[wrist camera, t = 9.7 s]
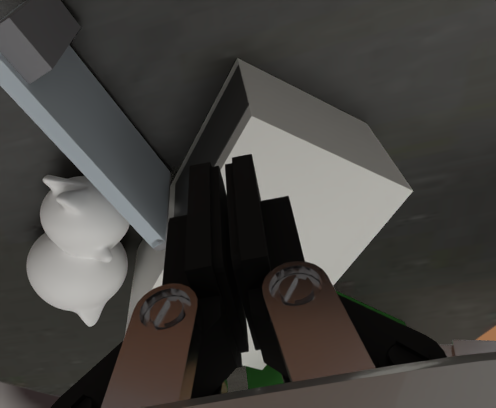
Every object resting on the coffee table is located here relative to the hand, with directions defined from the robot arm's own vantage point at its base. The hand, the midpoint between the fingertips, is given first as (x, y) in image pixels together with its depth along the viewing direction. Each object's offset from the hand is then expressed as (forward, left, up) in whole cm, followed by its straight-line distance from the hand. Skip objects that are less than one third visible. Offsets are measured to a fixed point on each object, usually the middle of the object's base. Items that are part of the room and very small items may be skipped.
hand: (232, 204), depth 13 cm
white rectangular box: (+12, +10, -24) cm, 29 cm away
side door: (+9, -3, -23) cm, 25 cm away
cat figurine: (+20, -1, -24) cm, 32 cm away
